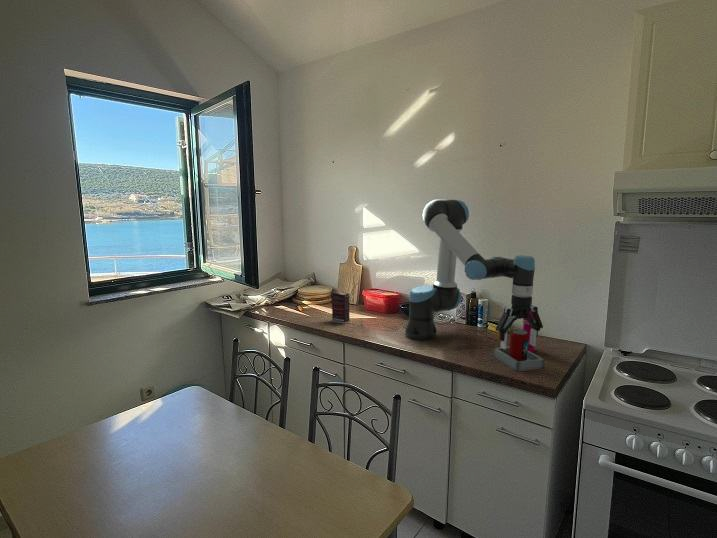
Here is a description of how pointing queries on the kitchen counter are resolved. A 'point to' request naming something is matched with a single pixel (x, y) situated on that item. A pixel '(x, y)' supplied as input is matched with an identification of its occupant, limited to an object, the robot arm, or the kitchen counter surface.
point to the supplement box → (340, 307)
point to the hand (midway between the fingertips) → (518, 346)
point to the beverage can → (519, 345)
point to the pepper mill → (528, 331)
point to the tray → (529, 364)
